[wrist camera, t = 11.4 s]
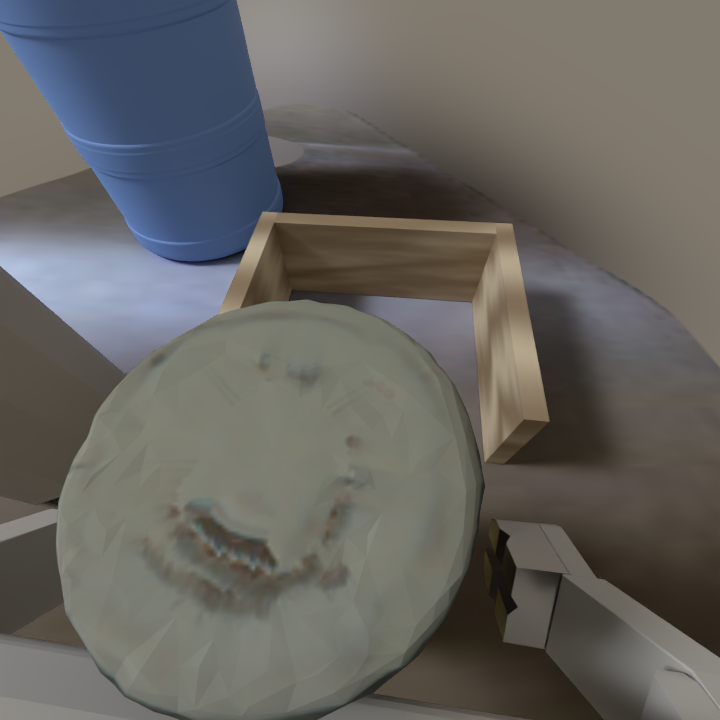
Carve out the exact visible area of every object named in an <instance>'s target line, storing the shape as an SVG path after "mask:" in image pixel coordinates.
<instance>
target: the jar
mask: <svg viewBox="0 0 720 720" xmlns="http://www.w3.org/2000/svg"><path fill="white" fill-rule="evenodd" d="M125 377H126V375H125V374H124V373H123V372H122V371H121V370H120V369H118V368H117V367H116V366H115V365H114V364H113V363H111V362H110V361H109V360H108V359H107V358H106V357H104V356H103V355H102V354H101V353H100V352H99V351H98V350H96V349H95V348H94V347H93V346H92V345H91V344H89V343H88V342H87V341H86V340H85V339H84V338H83V337H81V336H80V335H79V334H78V333H77V332H76V331H74V330H73V329H72V328H71V327H70V326H69V325H68V324H66V323H65V322H64V321H63V320H62V319H61V318H59V317H58V316H57V315H56V314H55V313H54V312H53V311H51V310H50V309H49V308H48V307H47V306H46V305H44V304H43V303H42V302H41V301H40V300H39V299H38V298H36V297H35V296H34V295H33V294H32V293H31V292H29V291H28V290H27V289H26V288H25V287H24V286H23V285H21V284H20V283H19V282H18V281H17V280H16V279H14V278H13V277H12V276H11V275H10V274H9V273H7V272H6V271H5V270H4V269H3V268H2V267H1V266H0V496H1V497H5V498H9V499H14V500H18V501H22V502H27V503H31V504H35V505H37V504H40V503H43V502H46V501H49V500H52V499H55V498H59V497H60V495H61V492H62V489H63V486H64V483H65V480H66V478H67V475H68V473H69V470H70V468H71V465H72V463H73V460H74V458H75V456H76V454H77V453H78V451H79V450H80V448H81V447H82V445H83V443H84V442H85V440H86V439H87V437H88V435H89V432H90V428H91V425H92V422H93V419H94V416H95V414H96V413H97V411H98V410H99V408H100V407H101V405H102V403H103V402H104V401H105V400H106V398H107V397H108V396H109V395H110V394H111V392H112V391H113V390H114V389H115V387H116V386H117V385H118V384H119V383H120V382H121V381H122V380H123V379H124V378H125Z"/></svg>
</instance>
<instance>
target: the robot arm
mask: <svg viewBox="0 0 720 720" xmlns="http://www.w3.org/2000/svg"><path fill="white" fill-rule="evenodd" d="M57 514H58V509H48V510H45V511H42V512H39V513H36V514H33V515H29V516H26V517H23V518H20V519H17V520H14V521H10V522H7V523H4V524H1V525H0V720H179V719H176V718H173V717H170V716H167V715H163V714H160V713H156V712H153V711H151V710H149V709H147V708H145V707H143V706H142V705H140V704H138V703H136V702H134V701H132V700H130V699H128V698H126V697H124V696H123V694H122V693H121V692H120V691H119V690H118V689H117V688H116V687H115V686H114V684H113V683H111V682H110V681H109V680H108V679H107V678H106V677H105V676H103V675H102V674H101V673H100V671H99V670H98V668H97V666H96V664H95V662H94V661H93V659H92V657H91V655H90V653H89V652H88V650H87V648H86V647H84V646H78V645H72V644H65V643H59V642H53V641H47V640H41V639H35V638H29V637H22V636H16V635H10V634H12V633H14V632H15V631H17V630H19V629H20V628H22V627H24V626H25V625H27V624H29V623H30V622H32V621H34V620H35V619H37V618H39V617H40V616H42V615H44V614H45V613H47V612H49V611H50V610H52V609H54V608H55V607H57V606H59V605H60V604H62V603H64V598H63V591H62V585H61V578H60V574H59V570H58V566H57V562H56V530H57ZM488 535H489V538H490V540H491V543H492V544H491V545H490V546H489V547H488V548H487V549H486V550H485V558H484V577H485V583H486V587H487V591H488V594H489V595H490V596H491V597H492V598H493V599H494V600H495V601H496V603H495V609H494V614H495V617H496V621H497V624H498V627H499V630H500V634H501V637H502V640H503V642H507V643H513V644H518V645H524V646H530V647H535V648H541V649H546V651H545V652H546V653H547V654H548V655H549V656H550V657H551V659H552V660H553V661H554V662H555V663H556V664H557V666H558V667H559V668H560V669H561V670H562V671H563V673H564V674H565V675H566V676H567V677H568V678H569V680H570V681H571V682H572V683H573V684H574V685H575V687H576V688H577V689H578V690H579V691H580V692H581V694H582V695H583V696H584V697H585V698H586V699H587V701H588V702H589V703H590V704H591V705H592V706H593V708H594V709H595V710H596V711H597V712H598V713H599V715H600V716H601V717H602V718H603V719H604V720H720V658H719V657H718V656H716V655H715V654H713V653H712V652H710V651H709V650H707V649H706V648H704V647H703V646H701V645H700V644H699V643H697V642H696V641H694V640H693V639H691V638H690V637H688V636H687V635H685V634H684V633H682V632H681V631H679V630H678V629H676V628H675V627H674V626H672V625H671V624H669V623H668V622H666V621H665V620H663V619H662V618H660V617H659V616H657V615H656V614H654V613H653V612H652V611H650V610H649V609H647V608H646V607H644V606H643V605H641V604H640V603H638V602H637V601H635V600H634V599H632V598H631V597H630V596H628V595H627V594H625V593H624V592H622V591H621V590H619V589H618V588H616V587H615V586H613V585H612V584H610V583H609V582H607V581H606V580H605V579H597V578H596V576H595V575H594V573H593V572H592V571H591V569H590V568H589V566H588V565H587V563H586V562H585V560H584V559H583V558H582V556H581V555H580V553H579V552H578V550H577V549H576V548H575V546H574V545H573V543H572V542H571V540H570V539H569V538H568V536H567V535H566V533H565V532H564V530H563V529H562V528H561V527H560V526H558V525H556V524H544V523H528V522H518V521H508V520H498V519H492V520H491V523H490V526H489V531H488ZM318 720H532V719H526V718H520V717H513V716H507V715H501V714H495V713H488V712H482V711H476V710H470V709H464V708H458V707H452V706H446V705H439V704H433V703H427V702H421V701H415V700H409V699H403V698H397V697H391V696H385V695H379V694H373V693H371V694H369V695H367V696H365V697H363V698H361V699H359V700H356V701H354V702H352V703H350V704H348V705H346V706H344V707H342V708H340V709H338V710H336V711H334V712H332V713H330V714H328V715H326V716H324V717H322V718H320V719H318Z"/></svg>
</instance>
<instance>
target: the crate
mask: <svg viewBox="0 0 720 720" xmlns="http://www.w3.org/2000/svg"><path fill="white" fill-rule="evenodd" d="M292 290H300V291H315V292H330V293H345V294H360V295H375V296H390V297H405V298H419V299H434V300H449V301H464V302H472V306H473V319H474V332H475V345H476V357H477V370H478V383H479V396H480V409H481V422H482V435H483V448H484V461H485V462H486V463H496V464H504V463H505V462H507V461H508V460H509V459H510V458H511V457H512V456H513V455H514V454H515V453H516V452H517V451H518V450H520V449H521V448H522V447H523V446H524V445H525V444H526V443H527V442H528V441H529V440H530V439H531V438H533V437H534V436H535V435H536V434H537V433H538V432H539V431H540V430H541V429H542V428H543V427H544V426H546V425H547V424H548V423H549V422H550V421H549V415H548V410H547V405H546V400H545V394H544V389H543V384H542V379H541V373H540V368H539V363H538V357H537V352H536V347H535V342H534V336H533V331H532V326H531V321H530V315H529V310H528V305H527V299H526V294H525V289H524V284H523V278H522V273H521V268H520V262H519V257H518V252H517V247H516V241H515V236H514V231H513V226H512V224H505V223H484V222H464V221H443V220H422V219H402V218H381V217H360V216H340V215H319V214H298V213H277V212H262V214H261V216H260V219H259V221H258V223H257V226H256V228H255V230H254V232H253V235H252V237H251V239H250V242H249V244H248V246H247V249H246V251H245V253H244V255H243V258H242V260H241V262H240V265H239V267H238V269H237V272H236V274H235V276H234V279H233V281H232V283H231V285H230V288H229V290H228V292H227V295H226V297H225V299H224V302H223V304H222V306H221V309H220V311H219V313H218V315H219V314H222V313H226V312H229V311H232V310H236V309H240V308H245V307H249V306H253V305H257V304H261V303H266V302H272V301H289V298H290V295H291V291H292Z"/></svg>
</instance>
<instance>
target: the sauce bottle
mask: <svg viewBox="0 0 720 720" xmlns="http://www.w3.org/2000/svg"><path fill="white" fill-rule="evenodd" d="M484 488H485V484H484V478H483V473H482V466H481V460H480V454H479V450H478V447H477V443H476V439H475V436H474V432H473V429H472V426H471V422H470V419H469V416H468V413H467V411H466V409H465V406H464V404H463V402H462V400H461V397H460V395H459V393H458V391H457V389H456V386H455V385H454V384H453V382H452V381H451V379H450V378H449V376H448V375H447V374H446V372H445V371H444V370H443V369H442V368H441V367H440V366H439V365H438V364H437V362H436V361H435V359H434V357H433V356H432V354H431V353H430V352H429V351H427V350H426V349H425V348H424V347H422V346H421V345H420V344H419V343H417V342H416V341H415V340H414V339H412V338H411V337H410V336H409V335H407V334H406V333H404V332H403V331H402V330H400V329H398V328H397V327H395V326H394V325H392V324H391V323H389V322H387V321H385V320H383V319H381V318H379V317H376V316H374V315H371V314H367V313H364V312H361V311H358V310H355V309H353V308H351V307H349V306H345V305H337V304H325V303H319V302H315V301H312V300H308V299H306V300H296V301H272V302H266V303H261V304H257V305H253V306H249V307H245V308H240V309H236V310H232V311H229V312H226V313H222V314H219V315H216V316H214V317H213V318H211V319H209V320H207V321H206V322H204V323H202V324H200V325H199V326H197V327H195V328H193V329H191V330H190V331H188V332H186V333H184V334H182V335H181V336H179V337H177V338H176V339H174V340H172V341H171V342H169V343H167V344H166V345H164V346H162V347H160V348H158V349H156V350H154V351H153V352H152V353H150V354H149V355H148V356H147V357H146V358H145V359H144V360H143V361H141V362H140V363H139V364H138V365H137V366H136V367H135V368H134V369H133V370H131V371H130V373H129V374H128V375H127V376H126V377H125V378H124V379H123V380H122V381H121V382H120V383H119V384H118V385H117V386H116V387H115V389H114V390H113V391H112V392H111V394H110V395H109V396H108V397H107V398H106V400H105V401H104V402H103V403H102V405H101V407H100V408H99V410H98V411H97V413H96V414H95V416H94V419H93V422H92V425H91V428H90V432H89V435H88V437H87V439H86V440H85V442H84V443H83V445H82V447H81V448H80V450H79V451H78V453H77V454H76V456H75V458H74V460H73V463H72V465H71V468H70V470H69V473H68V475H67V478H66V480H65V483H64V486H63V489H62V492H61V495H60V498H59V501H58V514H57V530H56V562H57V566H58V570H59V574H60V578H61V585H62V591H63V598H64V605H65V612H66V615H67V618H68V619H69V621H70V622H71V624H72V625H73V627H74V628H75V630H76V631H77V633H78V634H79V636H80V637H81V639H82V641H83V643H84V644H85V646H86V648H87V650H88V652H89V653H90V655H91V657H92V659H93V661H94V662H95V664H96V666H97V668H98V670H99V671H100V673H101V674H102V675H103V676H105V677H106V678H107V679H108V680H109V681H110V682H111V683H113V684H114V686H115V687H116V688H117V689H118V690H119V691H120V692H121V693H122V694H123V696H124V697H126V698H128V699H130V700H132V701H134V702H136V703H138V704H140V705H142V706H143V707H145V708H147V709H149V710H151V711H153V712H156V713H160V714H163V715H167V716H170V717H173V718H176V719H179V720H318V719H320V718H322V717H324V716H326V715H328V714H330V713H332V712H334V711H336V710H338V709H340V708H342V707H344V706H346V705H348V704H350V703H352V702H354V701H356V700H359V699H361V698H363V697H365V696H367V695H369V694H371V693H373V692H375V691H376V690H377V689H378V688H380V687H381V686H382V685H383V684H384V683H386V682H387V681H388V680H389V679H390V678H392V677H393V676H394V675H395V674H397V673H398V672H399V671H401V670H402V669H403V668H405V667H406V666H407V665H408V664H410V663H411V662H412V661H413V660H414V659H415V658H416V657H417V656H418V655H419V654H420V653H421V651H422V650H423V648H424V647H425V646H426V644H427V643H428V642H429V640H430V639H431V638H432V636H433V635H434V634H435V632H436V631H437V629H438V628H439V627H440V625H441V624H442V623H443V621H444V620H445V618H446V617H447V615H448V613H449V611H450V609H451V607H452V605H453V603H454V601H455V599H456V596H457V594H458V591H459V588H460V586H461V583H462V580H463V578H464V576H465V575H466V573H467V571H468V569H469V567H470V563H471V558H472V553H473V549H474V545H475V542H476V538H477V535H478V531H479V514H480V509H481V504H482V499H483V493H484Z"/></svg>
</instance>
